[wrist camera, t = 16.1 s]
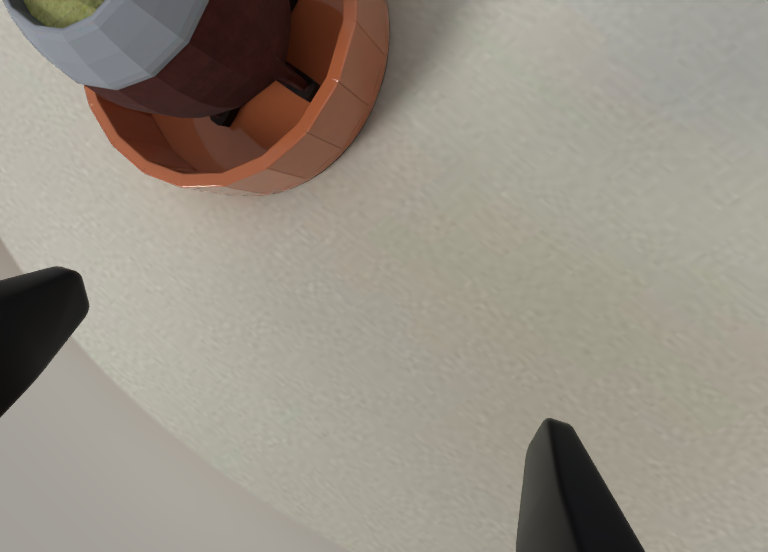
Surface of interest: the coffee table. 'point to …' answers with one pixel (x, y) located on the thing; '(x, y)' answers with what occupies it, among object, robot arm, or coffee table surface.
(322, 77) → the holder
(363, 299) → the coffee table surface
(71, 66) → the mate gourd
